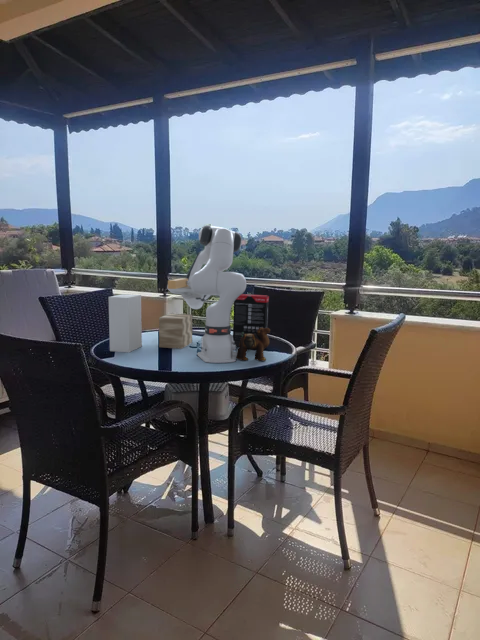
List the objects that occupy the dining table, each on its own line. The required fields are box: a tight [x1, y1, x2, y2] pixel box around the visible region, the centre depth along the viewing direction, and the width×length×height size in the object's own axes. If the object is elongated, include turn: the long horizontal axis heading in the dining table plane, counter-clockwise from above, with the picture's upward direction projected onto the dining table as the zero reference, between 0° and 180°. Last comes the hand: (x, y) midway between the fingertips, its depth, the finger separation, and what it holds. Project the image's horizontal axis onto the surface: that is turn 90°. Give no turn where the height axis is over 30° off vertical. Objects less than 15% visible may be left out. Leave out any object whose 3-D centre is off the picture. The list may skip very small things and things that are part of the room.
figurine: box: [236, 327, 271, 362], centre depth 197 cm, size 9×15×15 cm, turn 84°
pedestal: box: [158, 313, 193, 350], centre depth 226 cm, size 16×12×15 cm
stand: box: [108, 293, 143, 353], centre depth 213 cm, size 14×10×26 cm
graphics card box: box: [232, 293, 270, 351], centre depth 221 cm, size 17×7×27 cm, turn 76°
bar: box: [167, 277, 188, 290], centre depth 225 cm, size 19×4×4 cm, turn 168°
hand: (182, 281), depth 231 cm, fingers closed on bar, 4 cm apart
